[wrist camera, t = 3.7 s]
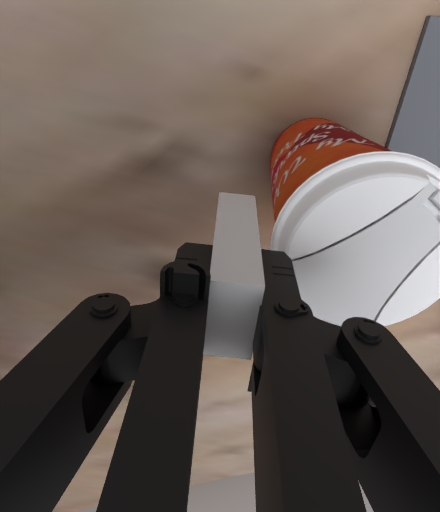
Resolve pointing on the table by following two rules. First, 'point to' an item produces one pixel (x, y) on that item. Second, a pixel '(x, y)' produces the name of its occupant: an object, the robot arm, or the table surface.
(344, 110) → the table surface
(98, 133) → the table surface
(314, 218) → the paper cup
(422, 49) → the rubber mat
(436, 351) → the table surface
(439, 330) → the table surface
